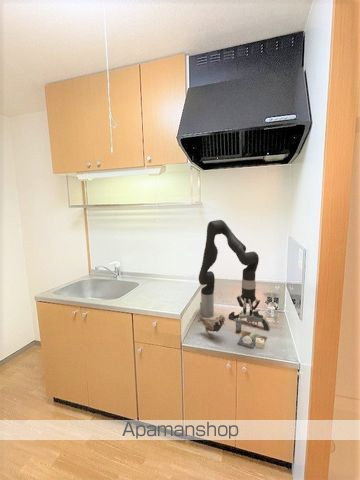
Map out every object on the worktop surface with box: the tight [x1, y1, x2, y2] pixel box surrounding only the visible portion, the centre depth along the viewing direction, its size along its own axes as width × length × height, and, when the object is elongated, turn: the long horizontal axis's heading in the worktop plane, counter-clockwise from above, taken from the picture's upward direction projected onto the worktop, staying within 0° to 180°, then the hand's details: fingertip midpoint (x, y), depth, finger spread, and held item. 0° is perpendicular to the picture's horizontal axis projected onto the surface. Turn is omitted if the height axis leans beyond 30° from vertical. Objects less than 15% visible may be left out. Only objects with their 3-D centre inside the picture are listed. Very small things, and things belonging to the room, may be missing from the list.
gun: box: [228, 308, 271, 332], centre depth 164 cm, size 5×27×15 cm, turn 52°
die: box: [254, 338, 265, 350], centre depth 140 cm, size 4×4×5 cm
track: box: [232, 329, 269, 343], centre depth 151 cm, size 20×6×1 cm, turn 57°
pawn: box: [235, 318, 243, 333], centre depth 154 cm, size 4×4×9 cm
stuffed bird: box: [197, 314, 226, 340], centre depth 149 cm, size 10×20×17 cm, turn 65°
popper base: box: [236, 335, 256, 350], centre depth 143 cm, size 9×9×2 cm
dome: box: [242, 336, 252, 345], centre depth 143 cm, size 5×5×5 cm
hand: (247, 314), depth 140 cm, fingers open, 2 cm apart
